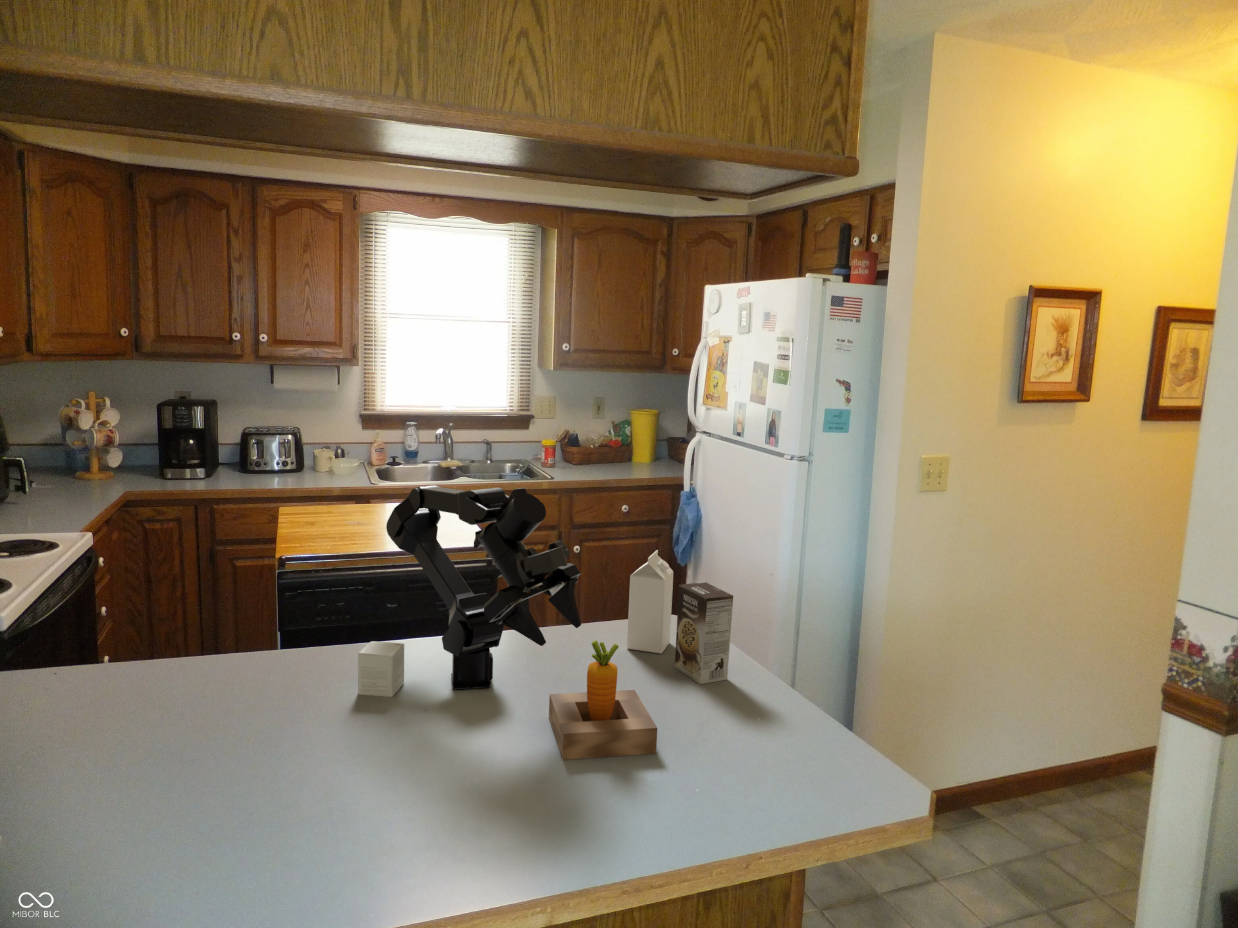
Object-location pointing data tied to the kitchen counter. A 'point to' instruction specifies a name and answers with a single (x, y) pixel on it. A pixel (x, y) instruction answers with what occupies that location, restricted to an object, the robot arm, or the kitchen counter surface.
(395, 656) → the product box
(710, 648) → the coffee box
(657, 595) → the milk carton
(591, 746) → the walnut socket block
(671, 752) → the kitchen counter surface
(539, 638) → the robot arm
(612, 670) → the carrot
